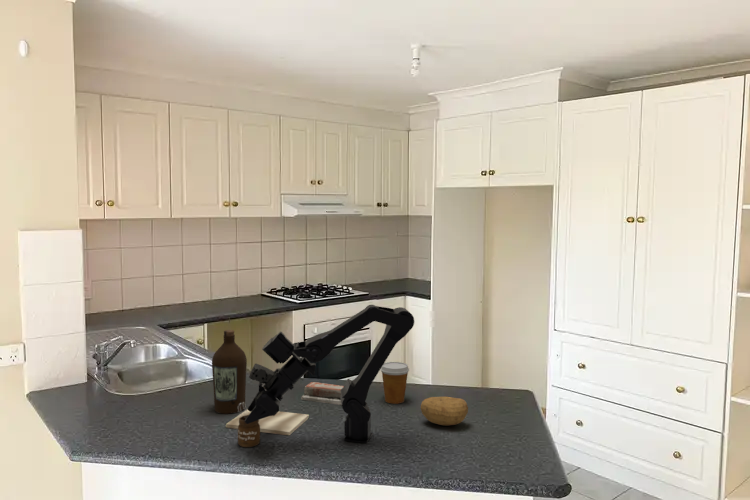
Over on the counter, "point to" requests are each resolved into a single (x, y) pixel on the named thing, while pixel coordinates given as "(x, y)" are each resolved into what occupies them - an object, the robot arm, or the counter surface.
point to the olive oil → (229, 376)
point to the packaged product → (322, 393)
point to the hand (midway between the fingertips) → (247, 416)
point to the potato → (444, 410)
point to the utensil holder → (248, 432)
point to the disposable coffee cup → (394, 381)
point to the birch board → (275, 422)
